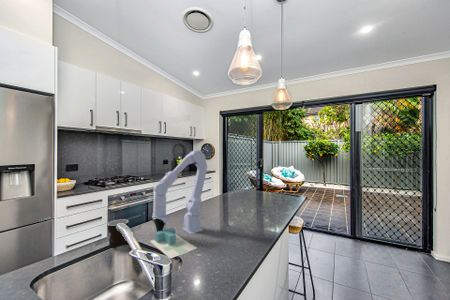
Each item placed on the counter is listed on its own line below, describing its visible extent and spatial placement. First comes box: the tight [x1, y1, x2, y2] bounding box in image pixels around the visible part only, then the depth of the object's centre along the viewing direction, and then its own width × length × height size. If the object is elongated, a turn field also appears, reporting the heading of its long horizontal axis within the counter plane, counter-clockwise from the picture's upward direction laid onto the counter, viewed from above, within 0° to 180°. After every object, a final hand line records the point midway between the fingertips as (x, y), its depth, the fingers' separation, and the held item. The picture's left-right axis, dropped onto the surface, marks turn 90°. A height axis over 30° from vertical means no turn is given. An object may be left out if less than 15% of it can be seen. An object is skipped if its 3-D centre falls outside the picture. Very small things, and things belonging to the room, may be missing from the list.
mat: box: [149, 233, 198, 259], centre depth 89 cm, size 22×13×1 cm, turn 43°
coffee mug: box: [107, 218, 129, 248], centre depth 88 cm, size 12×9×10 cm
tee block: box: [154, 227, 177, 245], centre depth 92 cm, size 9×9×4 cm
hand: (159, 233), depth 99 cm, fingers closed
